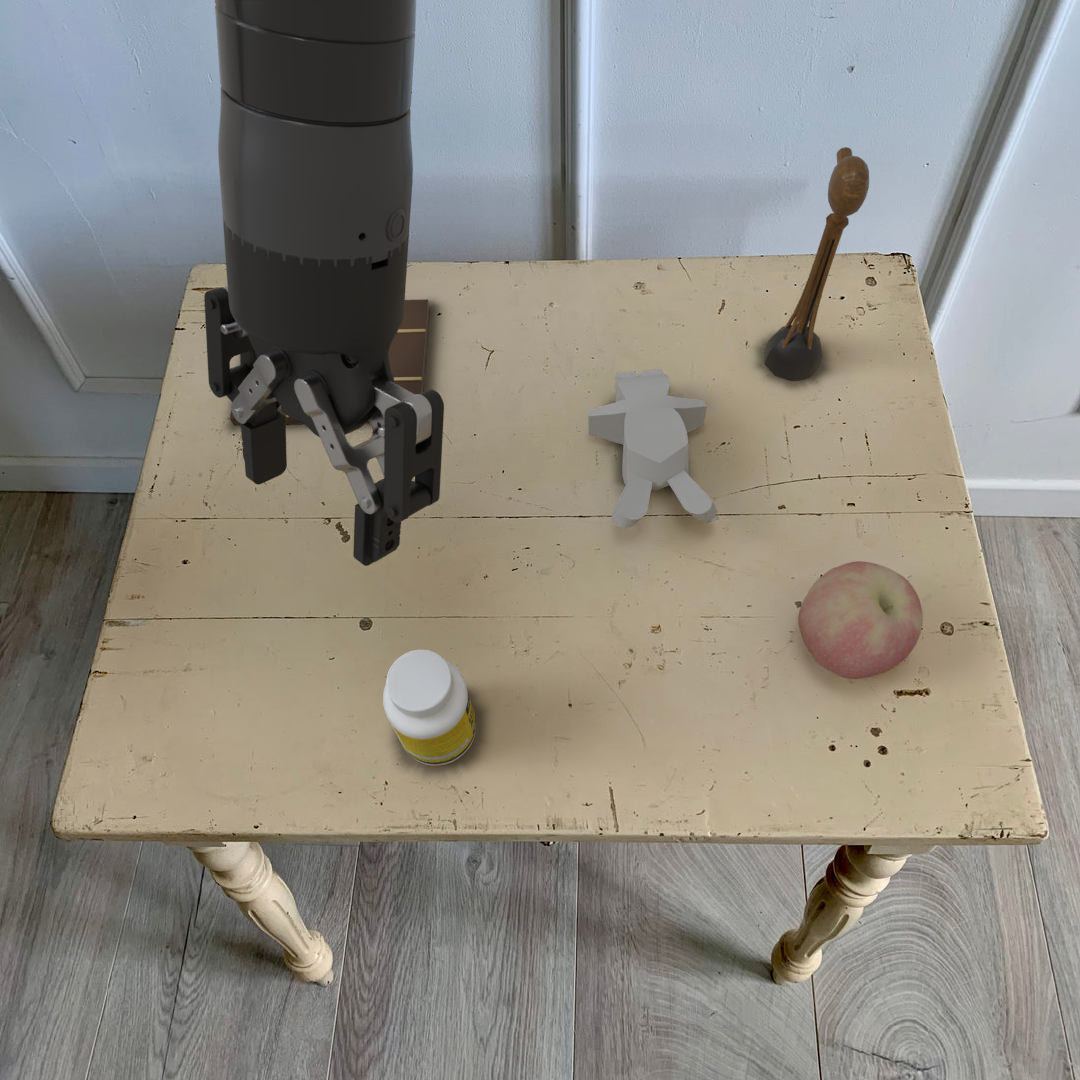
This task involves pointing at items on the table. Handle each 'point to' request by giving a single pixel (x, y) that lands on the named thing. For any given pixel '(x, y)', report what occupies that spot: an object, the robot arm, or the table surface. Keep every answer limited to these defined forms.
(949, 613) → the table surface
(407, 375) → the board
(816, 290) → the wooden tabletop sculpture
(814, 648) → the apple
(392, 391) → the robot arm
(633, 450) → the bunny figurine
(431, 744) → the supplement bottle
